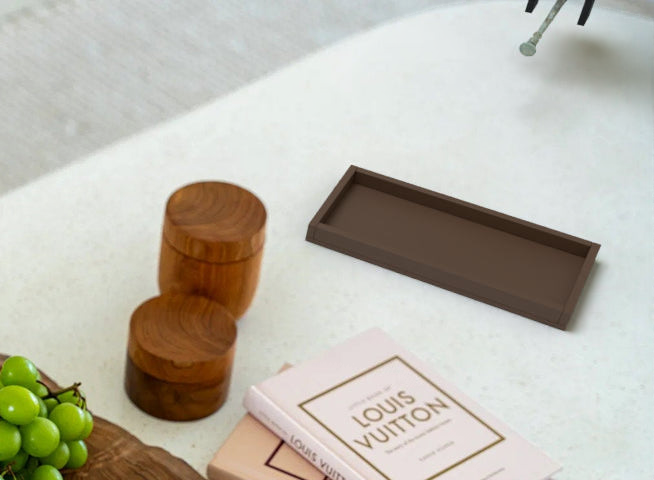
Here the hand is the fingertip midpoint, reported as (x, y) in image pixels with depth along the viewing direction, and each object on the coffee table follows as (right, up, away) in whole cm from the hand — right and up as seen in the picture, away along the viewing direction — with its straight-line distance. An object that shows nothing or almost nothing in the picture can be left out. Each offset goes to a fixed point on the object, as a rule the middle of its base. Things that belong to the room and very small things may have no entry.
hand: (557, 13), depth 128 cm
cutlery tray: (-18, -29, -17) cm, 38 cm away
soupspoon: (0, 0, 0) cm, 1 cm away
